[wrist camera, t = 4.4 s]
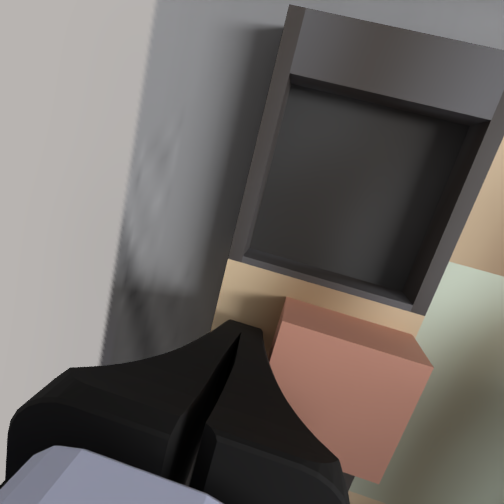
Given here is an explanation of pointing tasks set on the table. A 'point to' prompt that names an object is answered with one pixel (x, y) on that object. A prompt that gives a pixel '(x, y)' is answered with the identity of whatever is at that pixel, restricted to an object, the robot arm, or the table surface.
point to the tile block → (348, 382)
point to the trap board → (388, 228)
